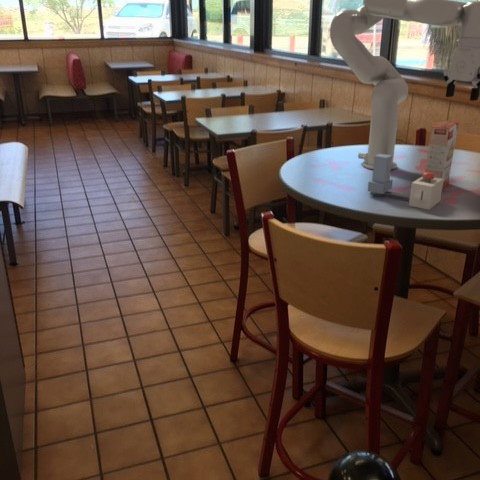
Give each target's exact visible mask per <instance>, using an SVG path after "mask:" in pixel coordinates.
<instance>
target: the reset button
mask: <svg viewBox="0 0 480 480" xmlns="http://www.w3.org/2000/svg"><path fill="white" fill-rule="evenodd" d="M421 177H423V178H425V182H426V183H431V179H434V178H435V173H433V172H425V171H424V172H422V176H421Z"/></svg>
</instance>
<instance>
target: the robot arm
mask: <svg viewBox="0 0 480 480" xmlns="http://www.w3.org/2000/svg"><path fill="white" fill-rule="evenodd" d="M385 18H386V19H387V18H388V19H393V20H398V21H404V22H407V23H408V22H413V23H414V22H415V23H421V24H426V25H432V26H438V27H457V26H460V30H459V31H460V33H459V37H458V39H457V40H456V44H457V47H455V48H454V51H453V53H452V55H451V60H450V64H449V67H447V68H445V69H443V71H442V72H443V78H444V81H445V85H446V91H445V92H446V93H445V97H446V98H451V97H452V98H453V97H454V96H455V91H456V90H455V88H456V84H455V83H456V82H457V81H461V82H471V84H472V86H473V87H471V90H470V97H469V100H470V102H473V101H475V102H477V101H478V99H479V96H480V0H478V1H477V0H476V1H475V0H474V1H468V2H464V1H463V2H462V1H457V0H363V1H362V5H361V6H360V7H359V8H357V9H344V10H341V11H338V12H337V13H336V14H335V15H334V16H333V18H332V21H331V23H330V27H329V37H330V42H331V44H332V46H333V48H334V49H335V51H336V52H337V53H338V55H340V57H341V58H342V59H343V61H344V62H345V63H346V65H347V67H348V68H350V70H351V71H352V72H353V73H354V75H355V76H356V77H357V79H358V80H359V81H360V82H361V83H362V84H365V85H366V84H367V85H372V84H373V85H374V86H373V89H372V90H371V95H370V105H371V107H370V108H371V111H370V112H371V115H370V126H369V135H368V136H369V138H368V147H367V153H364V152H359V153H358V155H357V157H358V159H361V160H364V161H363V162H362V166H363V167H364V168H366V169H369V170H373V167H374V157H375V156H376V155H378V154H386V155H392V162H391V171H392V170H394V169H397V168H398V164H397V162H395V161H394V158H395V157H394V155H395V146H396V138H397V129H398V120H399V109H398V107H399V104H400V103H402V102H403V101H405V100H406V98H407V96H408V95H409V86H408V83H407V82H406V80H405V79H404V78H403V77H402V75H401V74H400V73H399V72H398V70H396V68H395V67H394V66H393V64H392V63H391V62H390V60H388V59H387V58H385V57H384V56H381V55H373V54H372V53H371V52H370V51H369V49H368V48H367V47H366V46H365V45H364V43H363V42H362V41H360V39H358V38H357V36H358V35H362V34H364V33H365V32H366V31H368V30H370V29H372V27H374V26H375V25H376V24H378V23H379V22H381V21H382V20H384V19H385Z"/></svg>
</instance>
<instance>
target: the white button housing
mask: <svg viewBox="0 0 480 480" xmlns="http://www.w3.org/2000/svg"><path fill="white" fill-rule="evenodd" d="M443 180H444V179H442V178H436V177H435V178H434V179H431V183H426V182H425V178H423V177H422V176H421V177H419V178H417V179H416V180H413V182H411V185H410V192H409V193H410V194H409V195H410V200H409V201H408V202H409V203H408V206H409V207H414V208H419V209H423V210H430V209H432V208H433V207H434V206H436V205H437V204H438V203H439V202H441V198H442V191H443V189H442V186H443Z"/></svg>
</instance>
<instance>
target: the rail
mask: <svg viewBox="0 0 480 480" xmlns="http://www.w3.org/2000/svg"><path fill="white" fill-rule="evenodd" d="M369 192H370V191H369ZM370 195H372V196H379V197H384V198H388V199H389V198H390V199H394V200H400V201H403V202H409V200H410V194H405V193H400V192H394V191H391V190H389V191H387V192H385V193H384V194H380V193H375V192H370Z"/></svg>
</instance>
